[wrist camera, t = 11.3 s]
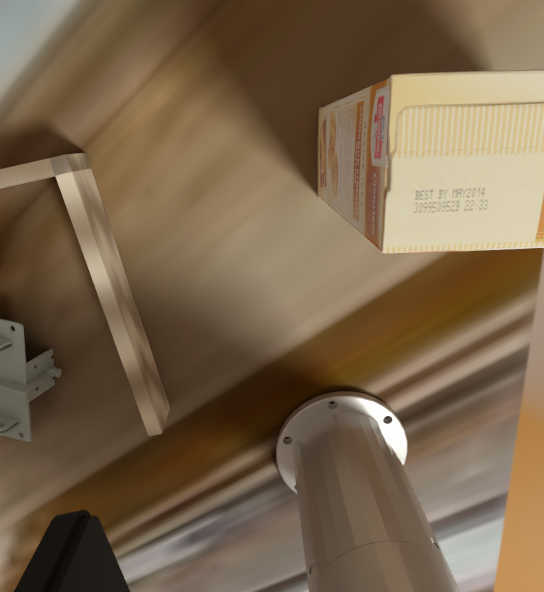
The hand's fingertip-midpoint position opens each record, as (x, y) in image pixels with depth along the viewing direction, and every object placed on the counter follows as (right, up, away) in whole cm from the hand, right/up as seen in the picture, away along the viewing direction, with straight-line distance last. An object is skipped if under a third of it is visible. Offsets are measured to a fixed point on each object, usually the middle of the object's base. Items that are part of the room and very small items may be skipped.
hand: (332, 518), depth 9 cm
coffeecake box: (+10, +16, +27) cm, 33 cm away
